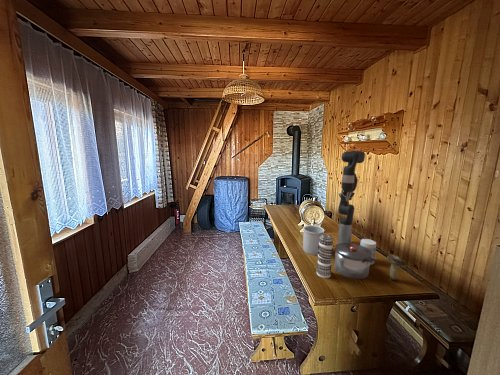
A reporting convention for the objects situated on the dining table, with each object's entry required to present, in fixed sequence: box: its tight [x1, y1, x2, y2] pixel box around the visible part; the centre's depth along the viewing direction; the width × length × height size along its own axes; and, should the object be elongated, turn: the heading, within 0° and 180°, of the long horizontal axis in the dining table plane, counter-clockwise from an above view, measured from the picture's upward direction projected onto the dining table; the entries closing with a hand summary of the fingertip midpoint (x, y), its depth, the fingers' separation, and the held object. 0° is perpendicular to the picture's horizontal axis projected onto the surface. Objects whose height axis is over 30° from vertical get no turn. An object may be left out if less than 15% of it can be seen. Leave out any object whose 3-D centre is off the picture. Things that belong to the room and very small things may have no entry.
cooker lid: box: [334, 242, 375, 262], centre depth 135 cm, size 21×24×3 cm
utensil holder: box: [302, 224, 325, 256], centre depth 162 cm, size 15×15×18 cm
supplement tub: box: [359, 238, 377, 266], centre depth 147 cm, size 10×10×15 cm
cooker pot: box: [333, 251, 371, 280], centre depth 138 cm, size 20×21×12 cm
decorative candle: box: [315, 233, 335, 279], centre depth 131 cm, size 9×9×25 cm
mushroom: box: [386, 254, 407, 282], centre depth 127 cm, size 9×9×15 cm
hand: (345, 206), depth 149 cm, fingers closed
